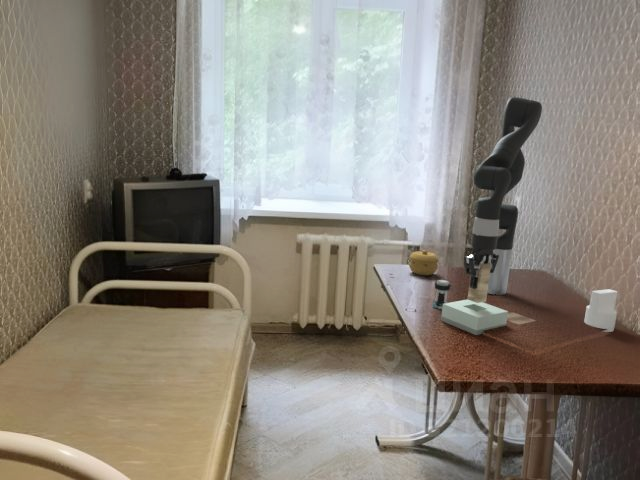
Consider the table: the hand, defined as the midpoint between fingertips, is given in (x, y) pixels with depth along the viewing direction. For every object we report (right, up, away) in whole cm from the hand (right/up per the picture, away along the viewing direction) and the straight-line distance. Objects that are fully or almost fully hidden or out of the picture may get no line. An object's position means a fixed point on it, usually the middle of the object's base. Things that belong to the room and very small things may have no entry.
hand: (478, 287), depth 185 cm
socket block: (-1, -12, +2) cm, 12 cm away
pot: (-7, 0, +61) cm, 61 cm away
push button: (-8, -9, +14) cm, 19 cm away
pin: (0, -4, +1) cm, 4 cm away
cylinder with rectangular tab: (+41, -14, +9) cm, 45 cm away
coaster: (+14, -12, +9) cm, 20 cm away
